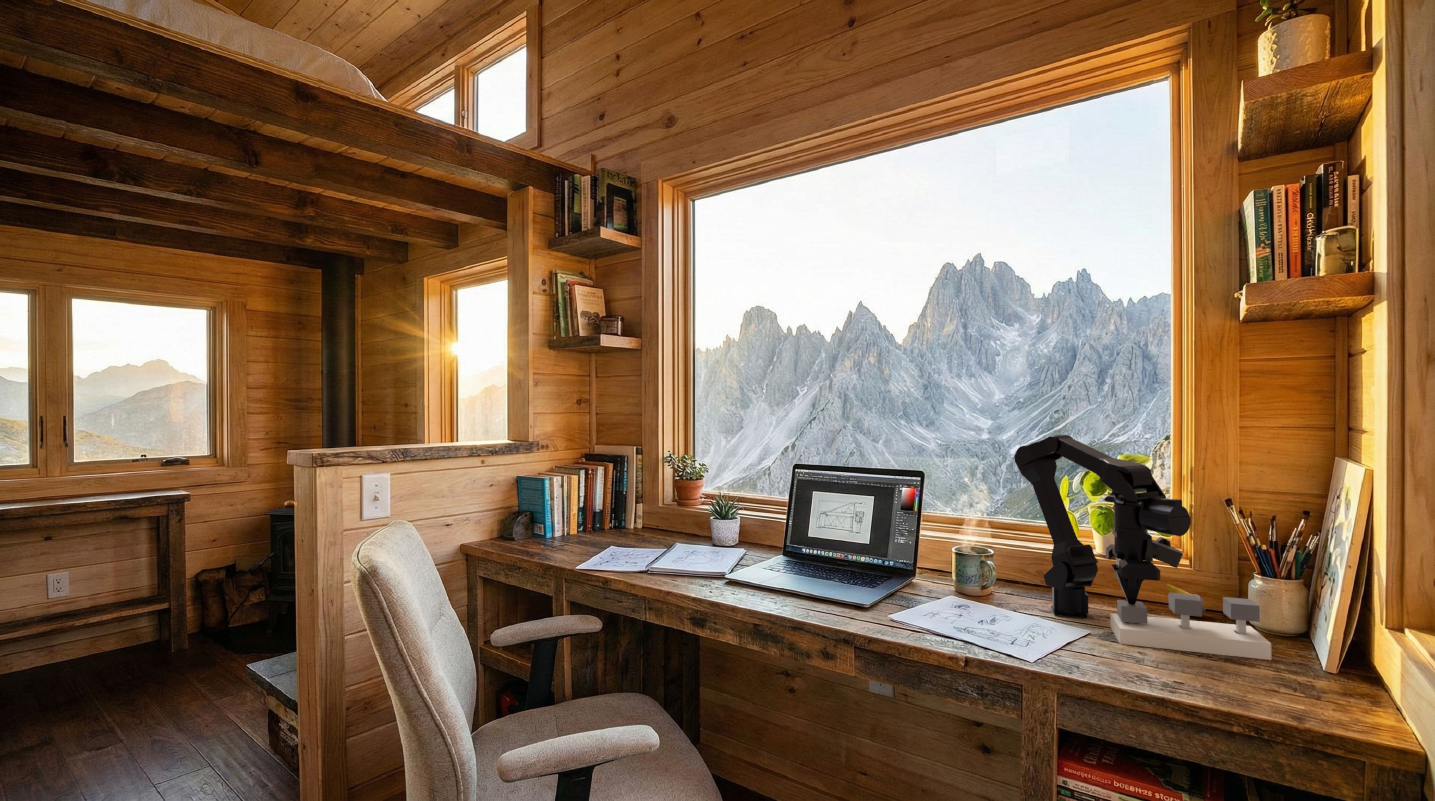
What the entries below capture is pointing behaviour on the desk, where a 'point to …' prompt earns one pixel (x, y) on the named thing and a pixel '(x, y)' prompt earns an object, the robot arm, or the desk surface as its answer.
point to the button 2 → (1241, 612)
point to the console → (1192, 637)
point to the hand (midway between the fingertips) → (1131, 603)
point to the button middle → (1185, 607)
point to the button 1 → (1132, 612)
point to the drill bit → (1175, 590)
